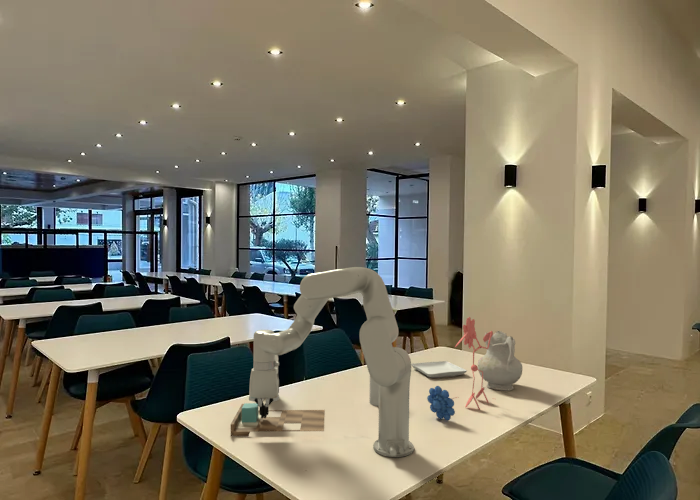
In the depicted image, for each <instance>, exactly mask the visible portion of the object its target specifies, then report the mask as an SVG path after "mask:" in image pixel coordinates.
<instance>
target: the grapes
mask: <svg viewBox="0 0 700 500" xmlns="http://www.w3.org/2000/svg"><path fill="white" fill-rule="evenodd" d="M428 392H429V393H428V396H427V397H426V400H427V402H428V403H429V404H430V406H429V409H430V411H431V412H432V413H434V414H435V415H436V418H437V419H438V420H443V419H444V420H445V421H446V422H448V421H450V420H451V419H452V417H454V415H455V414H456V410H455V408H454V406H455V402H454V400H453V398H452V397H451V398H450V393H449V391H448V390H446V389H443V388H442V387H441V386H439V385H436V386H435V387H430V388H429V391H428ZM451 416H452V417H451Z"/></svg>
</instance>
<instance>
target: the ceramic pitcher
mask: <svg viewBox="0 0 700 500" xmlns="http://www.w3.org/2000/svg"><path fill="white" fill-rule="evenodd" d="M487 333H488V332H485V333H484V336H485V335H486V334H487ZM484 336H483V337H484ZM488 342H489V340H487V341H486V342H484V344H485V347H486V348H487V347H488ZM515 345H516V340H515V338H514V337H513V336H509V335H507V333H505V332H503V331H502V330H501V331H500V330H496V331H495V333H493V336H492V337H491V340H490V344H489V348H488V349H486V352H485V354H484V355H483V356H482V357H480V358H479V360H478V361H477V367H478V370H480V371H478V370H477V371H478V373H479V375H480V377H481V378H482V372H481V371H483V380H484V381H486V382H487V384H486V387H487V388H488V389H492V390H495V391H496V390H497V391H501V392H502V391H503V392H504V391H505V392H506V391H513V390H514V389H515V387H514V386H513V385H514V384H516V383H517V382H518V381H519V380H520V379H521V377H522V375H523V363H522V362H521V361H520V360H519V359H518V358H517V357H516V356H515V353H516V351H515V350H516V349H515Z"/></svg>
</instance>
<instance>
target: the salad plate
mask: <svg viewBox="0 0 700 500" xmlns="http://www.w3.org/2000/svg"><path fill="white" fill-rule="evenodd" d="M411 368H412V369H415V370H416V371H417V372H418V371H419V372H420V373H421V374H424V375H425V376H427V377H428V378H432V379H433V378H434V379H436V378H437V379H438V378H449V377H457V376H460V375H464V374H466V373H467V372H468V370H467V369H465V368H463V367H460V366H458V365H457V364H454V363H452V362H449V361H448V360H439V361H426V362H424V361H423V362H416V363H414V362H413V363H411Z"/></svg>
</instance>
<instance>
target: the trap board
mask: <svg viewBox="0 0 700 500" xmlns="http://www.w3.org/2000/svg"><path fill="white" fill-rule="evenodd" d="M243 405H244V403H241V405H240V407H239V409H238V410H237V412H236V414H235V416H234V417H233V419H232V421H231V423H230V437H249V435H250V433H253V432H257V433H258V432H268V433H269V432H270V433H271V432H324V431H325V417H326V416H325V414H326V413H325V411H326V410H325V409H273V410H272V409H269V412H280V416H266V418H264V417H263V418H261V415H260V409H258V419H257V421H256V422H242V407H243ZM284 424H300V429H284V426H285V425H284Z"/></svg>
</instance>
